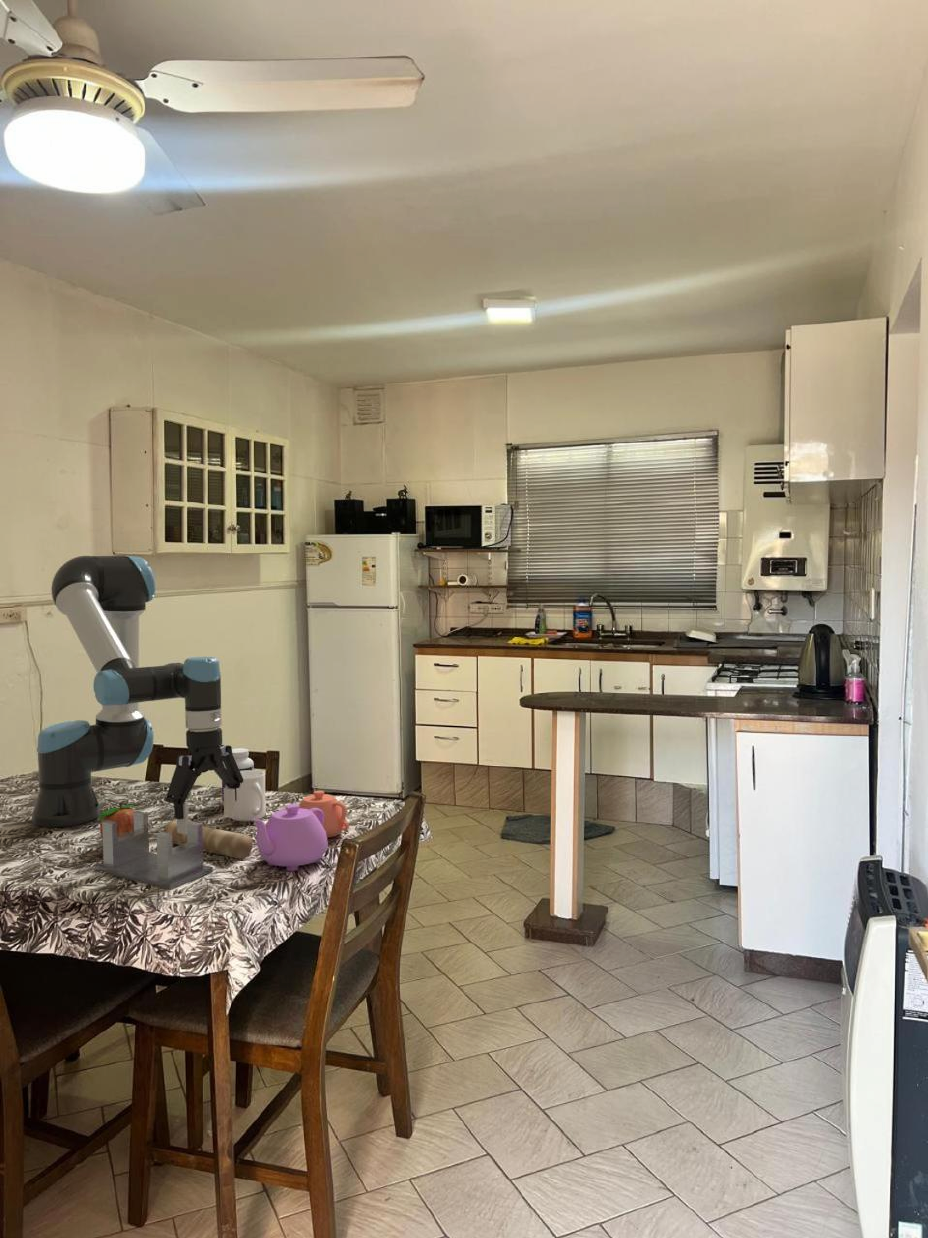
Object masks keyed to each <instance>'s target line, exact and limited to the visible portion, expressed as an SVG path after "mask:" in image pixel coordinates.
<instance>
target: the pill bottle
mask: <svg viewBox="0 0 928 1238" xmlns="http://www.w3.org/2000/svg"><path fill="white" fill-rule="evenodd" d="M232 754H233V757H234V759H235V761H236V764H237V766H238V768H239V770H240V771H245V770H255V766H254V765H255V763H254V759H253V760H252V759H251V757H249V755H250V754H249V749H248V748H242V747H241V748H239V747H238V748H232ZM222 763H223V764H224V762H223V761H222ZM224 767H225V768H226V766H225V764H224ZM224 788H228V787H227V786H226V785H225V783H224V782H223V781H222V780H221V802H222V805H223V806H224Z"/></svg>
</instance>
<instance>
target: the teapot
mask: <svg viewBox="0 0 928 1238" xmlns="http://www.w3.org/2000/svg"><path fill="white" fill-rule="evenodd" d="M315 812H317V813H318V818H317V817H316V815H315V814H314V813H315ZM251 820H252V821H251V822H253V823H254V824H255V826H256V839H255V840H256V841H255V842H256V847H257V849H258V850H257V851H258V854H259V855H260V856H261V858H263V860H264V861H266V862H267V865H268V866H279V867H286V871H288V872H296V871H298V870H299V866H304V865H308V864H317V863H319V862H320V859H321V858H322V856H323V855H324V854H325V853H326V851H327V850H328V847H329V844H328V838H327V837H326V836H327V834H326V831H325V830H324V828H323V823H324V813H323V811H322V810H320V809H318V808H311V809H310V810H308V809H302V808H299V804H296V803H290V804H287V805H285V809H279V810H277V811H275V812H274V813H272V814H271V816H270V817H269V818H268V820H267V822H266V823H265V822H264V821H263V820H262V819H258V820H257V819H251Z"/></svg>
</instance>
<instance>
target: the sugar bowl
mask: <svg viewBox="0 0 928 1238" xmlns="http://www.w3.org/2000/svg"><path fill="white" fill-rule="evenodd" d="M298 805H299V808H302V809H308V810H310V809H311V808H318V809H320V810H322V811H323V813H324V823H323V828H324V830H325V831H326V834H327V836H326V837H327V839H328V838H329V839H330V838H333V837H337V836H339V835H340V834H341V833H342V832H344V831H345V832H346V831H347V830H349V828H350V824H349V822H347V818H346V816H347V812H348V811H347V809H348V808H347V806H346V804H345V803H343V802H341V801H338V799H337V798H336V797H335V796H334V795H332V794H329V793H325V791H323V790H316V791H315V790H314V791H313V794H311V795H307V796H305V797H303V798H302V800H301V801H300V802H299V804H298ZM314 814H315V815H316V817H317V818H318V813H317V812H315V813H314Z"/></svg>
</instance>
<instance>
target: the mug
mask: <svg viewBox="0 0 928 1238" xmlns="http://www.w3.org/2000/svg"><path fill="white" fill-rule="evenodd" d="M240 773H241V775H242V777H243V783H240V787H239V788H236V793H237V794H236V795H237V800H236V801H235V811H236V817H235V818H230V819H232V820H233V821H235V822H253V821H252V820H251V819H257V820H262V818H264V817H265V816H266V809H267V808H266V773H265V772H264V771H262V770H255V769H254V770H245V771H240Z"/></svg>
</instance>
